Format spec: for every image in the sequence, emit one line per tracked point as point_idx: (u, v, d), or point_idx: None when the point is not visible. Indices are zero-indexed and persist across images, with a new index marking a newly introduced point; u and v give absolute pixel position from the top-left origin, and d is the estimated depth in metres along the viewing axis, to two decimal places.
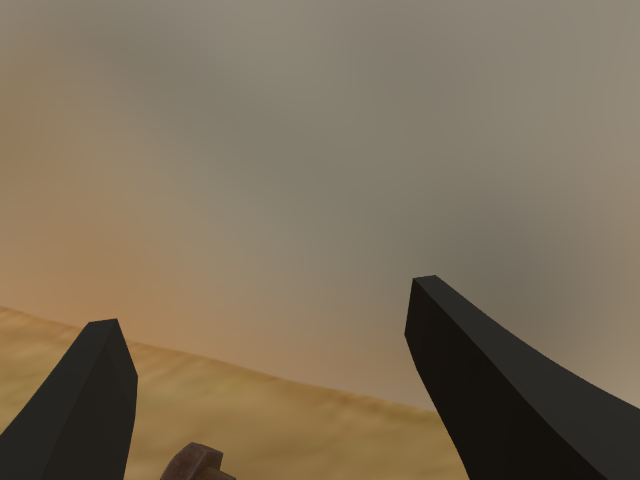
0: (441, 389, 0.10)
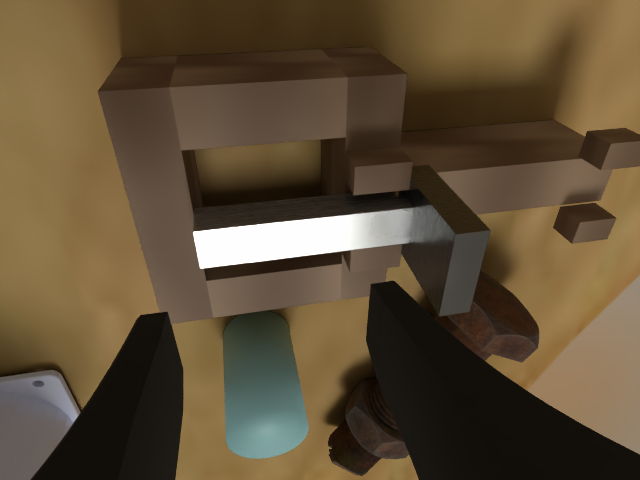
0: (396, 397, 0.10)
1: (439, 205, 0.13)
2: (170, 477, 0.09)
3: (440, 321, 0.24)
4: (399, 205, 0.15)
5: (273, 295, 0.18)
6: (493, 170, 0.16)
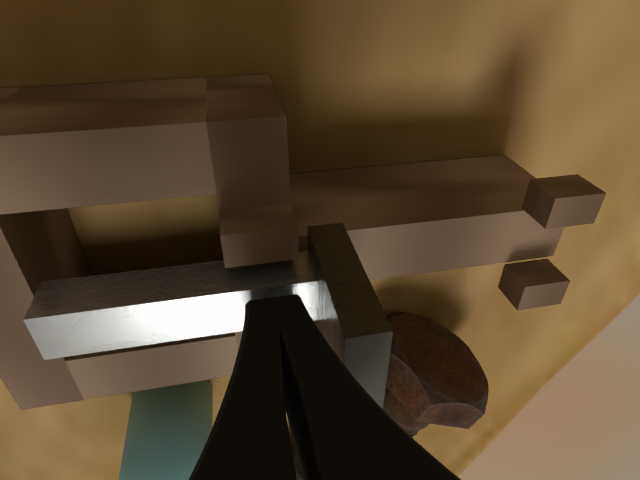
0: (291, 416, 0.10)
1: (337, 288, 0.10)
2: None
3: None
4: (301, 277, 0.12)
5: (156, 372, 0.15)
6: (416, 227, 0.13)
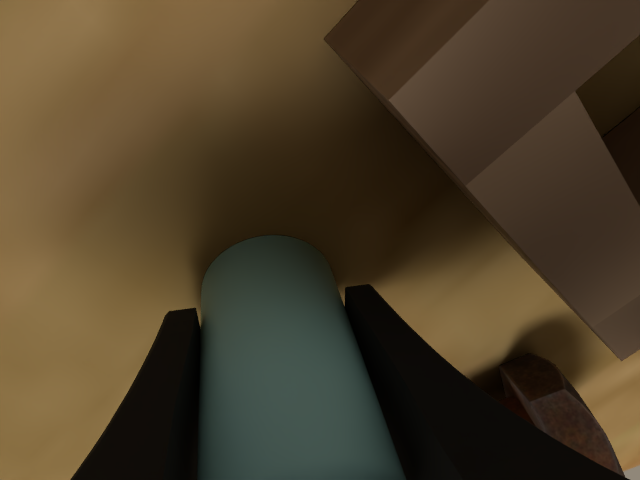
0: None
1: None
2: None
3: None
4: None
5: (572, 235, 0.08)
6: None
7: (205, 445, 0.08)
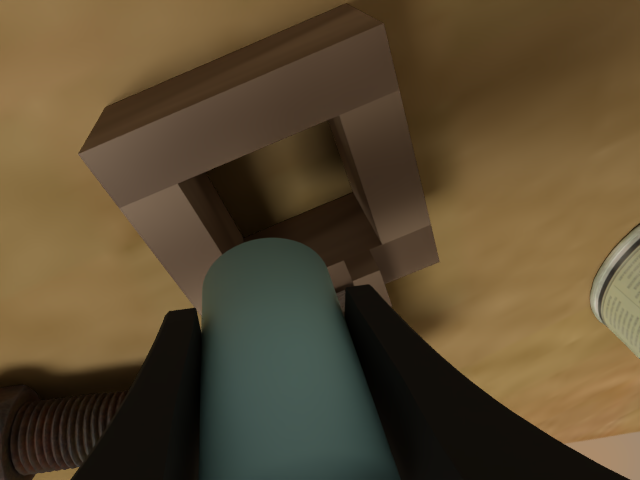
0: None
1: None
2: None
3: None
4: None
5: (184, 256, 0.15)
6: None
7: (210, 436, 0.08)
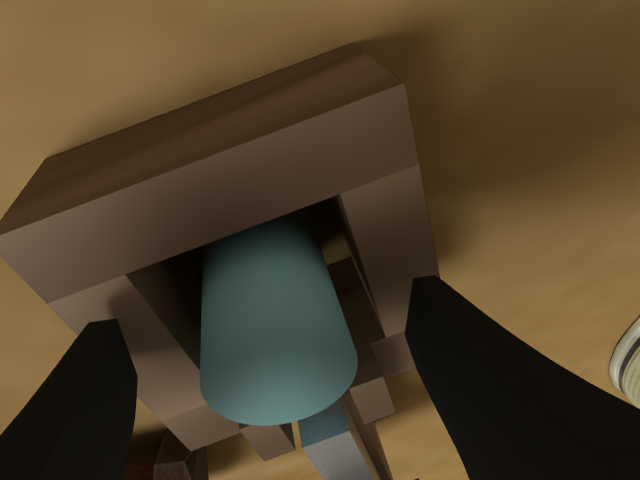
0: (441, 389, 0.10)
1: None
2: None
3: (132, 479, 0.18)
4: None
5: (136, 356, 0.12)
6: (372, 449, 0.16)
7: (209, 318, 0.10)
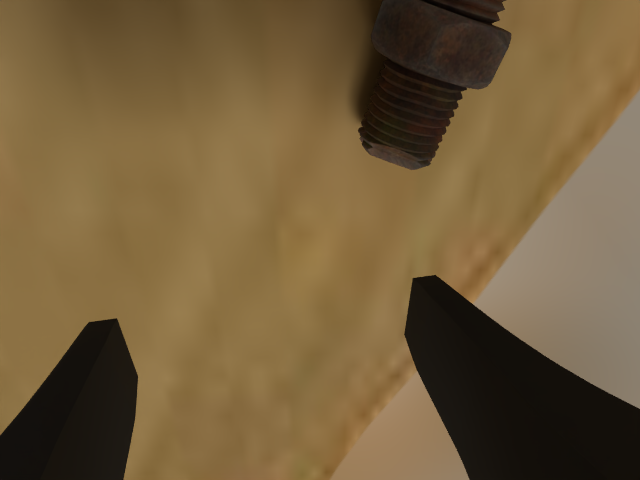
0: (441, 389, 0.10)
1: None
2: None
3: None
4: None
5: None
6: None
7: None
